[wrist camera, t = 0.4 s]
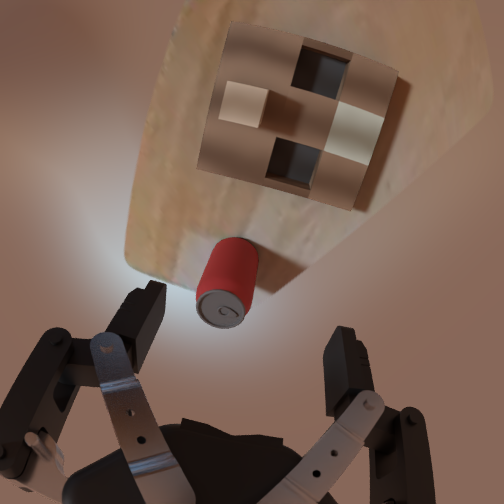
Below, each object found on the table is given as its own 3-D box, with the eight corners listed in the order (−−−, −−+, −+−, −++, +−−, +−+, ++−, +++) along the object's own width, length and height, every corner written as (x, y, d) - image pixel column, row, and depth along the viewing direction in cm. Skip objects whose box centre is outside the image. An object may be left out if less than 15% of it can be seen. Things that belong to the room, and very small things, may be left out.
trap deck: (235, 25, 30) (231, 21, 27) (390, 72, 30) (398, 71, 28) (202, 162, 39) (196, 169, 36) (346, 202, 39) (350, 211, 37)
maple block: (233, 81, 31) (227, 80, 27) (269, 89, 31) (267, 89, 27) (225, 115, 33) (218, 118, 29) (260, 123, 33) (257, 128, 29)
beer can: (248, 281, 47) (237, 339, 36) (207, 265, 46) (185, 320, 36) (266, 246, 44) (259, 300, 33) (221, 228, 43) (200, 277, 32)
